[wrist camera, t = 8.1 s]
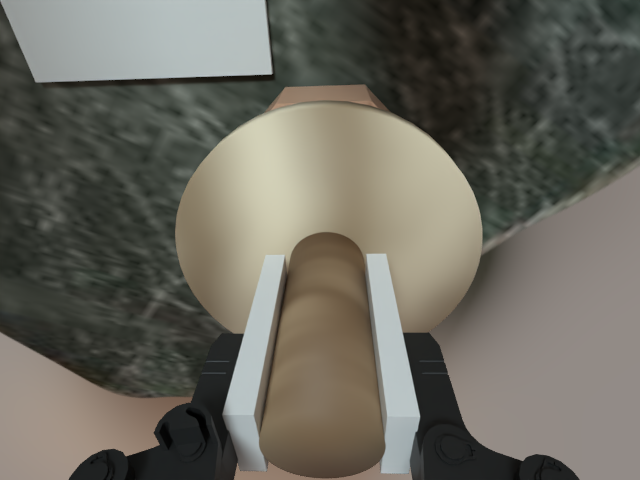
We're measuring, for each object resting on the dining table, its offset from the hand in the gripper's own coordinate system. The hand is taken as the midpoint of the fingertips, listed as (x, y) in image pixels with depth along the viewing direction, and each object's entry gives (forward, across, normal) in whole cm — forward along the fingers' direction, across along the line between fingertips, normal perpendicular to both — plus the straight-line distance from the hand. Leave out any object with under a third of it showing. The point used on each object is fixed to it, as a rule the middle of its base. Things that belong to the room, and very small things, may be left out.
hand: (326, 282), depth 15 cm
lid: (+3, 0, 0) cm, 3 cm away
